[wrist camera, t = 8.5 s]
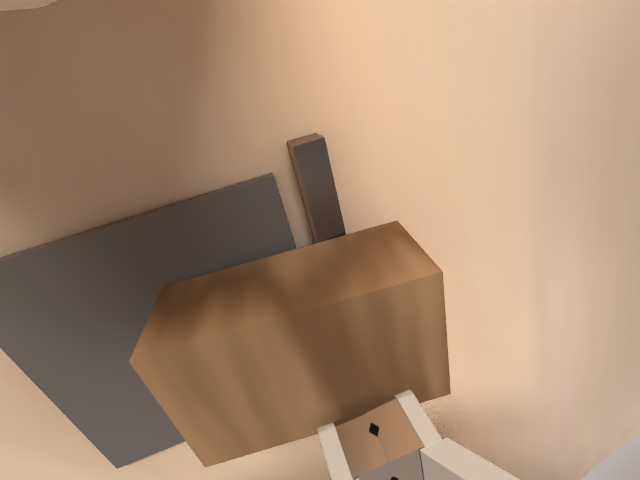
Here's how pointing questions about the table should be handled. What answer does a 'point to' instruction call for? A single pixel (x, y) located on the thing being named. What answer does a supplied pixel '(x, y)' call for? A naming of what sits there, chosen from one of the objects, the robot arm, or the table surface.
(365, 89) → the table surface
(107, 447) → the mat
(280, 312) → the walnut block
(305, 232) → the table surface
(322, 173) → the rail
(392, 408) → the robot arm
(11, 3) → the honey pot
